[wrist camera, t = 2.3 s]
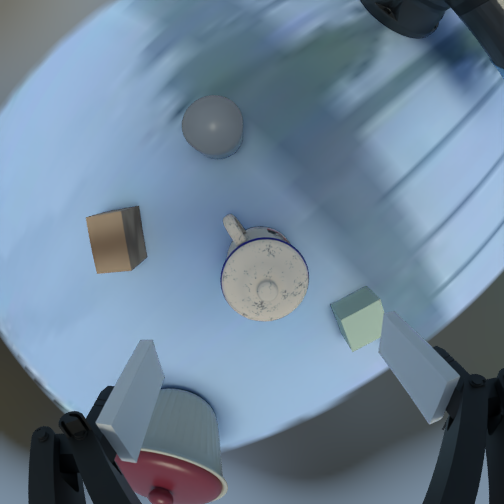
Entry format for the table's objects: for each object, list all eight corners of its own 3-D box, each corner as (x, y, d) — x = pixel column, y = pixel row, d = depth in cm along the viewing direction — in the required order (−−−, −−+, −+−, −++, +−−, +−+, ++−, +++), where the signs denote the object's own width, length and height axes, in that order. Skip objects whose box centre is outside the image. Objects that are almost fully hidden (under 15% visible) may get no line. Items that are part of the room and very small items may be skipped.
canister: (216, 368, 41) (204, 482, 21) (238, 434, 45) (239, 526, 25) (117, 373, 41) (70, 463, 21) (153, 437, 46) (132, 517, 25)
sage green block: (330, 304, 39) (340, 320, 34) (365, 285, 38) (380, 299, 34) (341, 334, 40) (352, 352, 36) (375, 316, 40) (389, 332, 35)
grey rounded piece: (193, 117, 32) (180, 100, 24) (240, 111, 32) (240, 92, 24) (197, 161, 33) (184, 156, 26) (244, 156, 33) (245, 148, 26)
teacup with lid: (306, 268, 37) (332, 304, 26) (249, 302, 38) (252, 350, 27) (259, 191, 35) (267, 196, 23) (199, 230, 36) (179, 253, 24)
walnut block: (107, 211, 34) (85, 217, 29) (139, 205, 34) (121, 210, 29) (116, 260, 36) (97, 273, 30) (147, 256, 36) (131, 270, 30)
